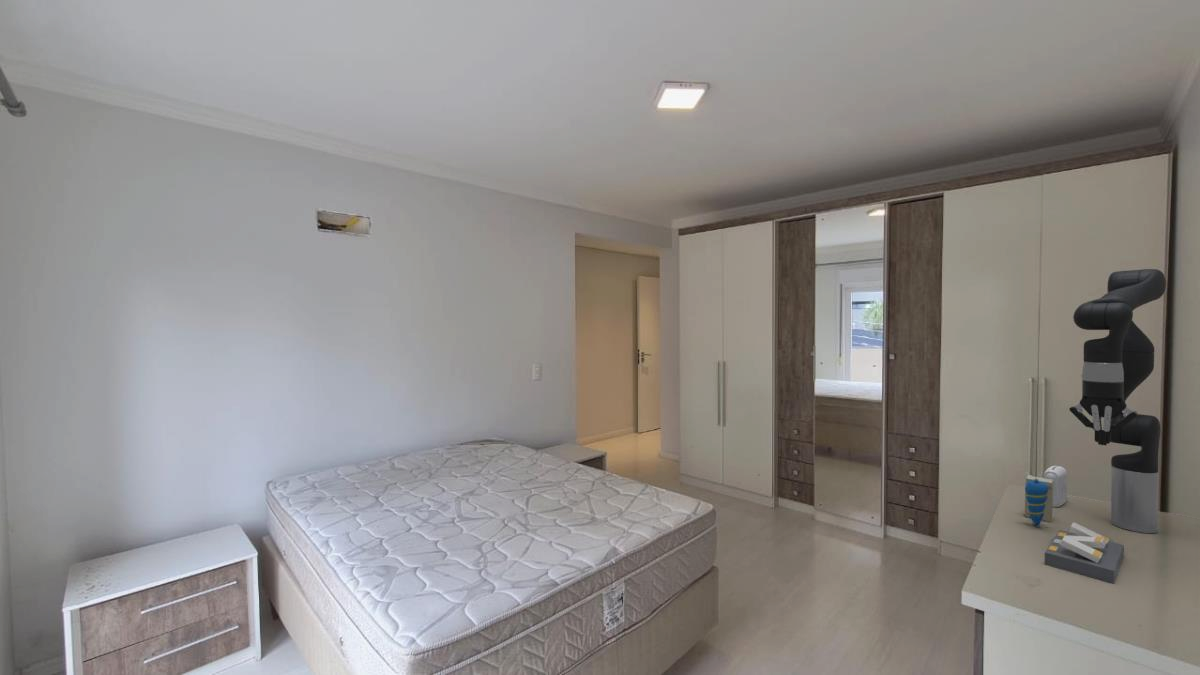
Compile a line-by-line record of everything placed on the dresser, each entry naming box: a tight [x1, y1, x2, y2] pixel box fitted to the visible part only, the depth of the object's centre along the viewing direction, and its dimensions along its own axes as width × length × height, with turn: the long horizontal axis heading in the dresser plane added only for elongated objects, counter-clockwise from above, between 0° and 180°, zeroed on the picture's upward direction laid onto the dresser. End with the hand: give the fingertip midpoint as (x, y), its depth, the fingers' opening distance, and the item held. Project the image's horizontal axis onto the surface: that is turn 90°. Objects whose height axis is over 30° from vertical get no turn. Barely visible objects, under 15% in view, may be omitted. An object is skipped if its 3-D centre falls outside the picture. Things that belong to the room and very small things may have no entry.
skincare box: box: [1024, 475, 1054, 523], centre depth 149 cm, size 6×4×12 cm
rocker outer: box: [1060, 536, 1102, 563], centre depth 119 cm, size 4×7×2 cm, turn 38°
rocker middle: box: [1067, 535, 1106, 548], centre depth 122 cm, size 4×7×2 cm, turn 38°
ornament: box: [1024, 476, 1049, 528], centre depth 142 cm, size 5×5×15 cm
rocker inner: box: [1067, 521, 1110, 548], centre depth 126 cm, size 4×7×2 cm, turn 38°
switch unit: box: [1044, 529, 1125, 584], centre depth 123 cm, size 20×12×4 cm, turn 128°
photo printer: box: [1043, 465, 1068, 508], centre depth 160 cm, size 10×4×12 cm, turn 123°
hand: (1102, 444), depth 127 cm, fingers closed
